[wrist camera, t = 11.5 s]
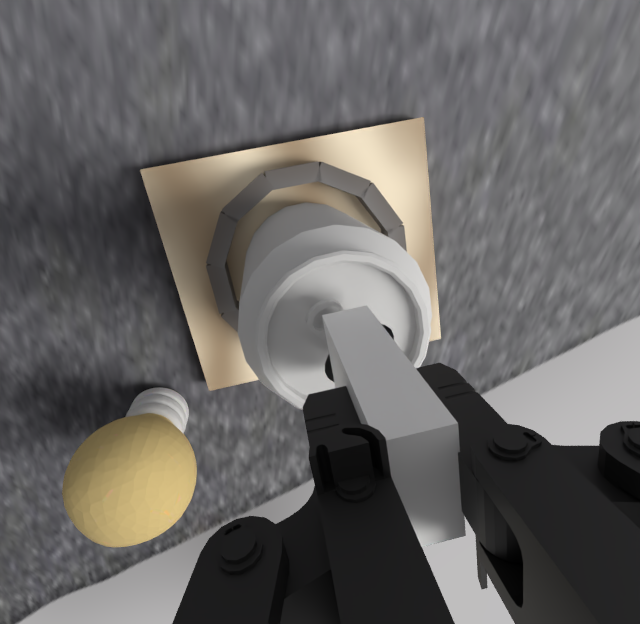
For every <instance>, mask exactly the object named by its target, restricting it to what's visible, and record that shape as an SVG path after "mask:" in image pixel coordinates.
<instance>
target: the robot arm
mask: <svg viewBox="0 0 640 624" xmlns="http://www.w3.org/2000/svg"><path fill="white" fill-rule="evenodd" d="M322 318H323V323H324V329H325V334H326V339H327V345H328V350H329V356H330V361H331V366H332V372H333V377H334V382H335V388H334V389H330V390H325V391H321V392H317V393H312V394H308V396H307V399H306V401H305V403H304V405H303V413H304V418H305V424H306V429H307V434H308V440H309V445H310V449H309V461H310V465H311V470H312V474H313V478H314V483H315V487H314V491H313V494H312V495H311V497H310V498H309V500H308V502H307V503H306V504H305V505H304V506H303V507H302V508H301V509H300V510H299V511H297V512H296V513H294V514H293V515H291V516H290V517H288V518H286V519H285V520H283V521H281V522H279V523H277V524H274V523H273V522H271V521H270V520H268V519H266V518H264V517H256V516H249V517H245V518H239V519H236V520H234V521H232V522H230V523H228V524H226V525H224V526H223V527H221V528H220V529H219V530H218V531H217V532H216V533H215V534H214V535H213V536H212V537H210V538H209V540H208V541H207V543H206V545H205V546H204V548H203V550H202V551H201V553H200V556H199V558H198V561H197V563H196V565H195V568H194V571H193V573H192V576H191V578H190V581H189V583H188V586H187V588H186V591H185V593H184V596H183V598H182V601H181V603H180V606H179V608H178V611H177V613H176V616H175V619H174V621H173V624H455V623H454V621H453V619H452V617H451V614H450V612H449V610H448V607H447V605H446V603H445V600H444V598H443V596H442V593H441V591H440V589H439V587H438V584H437V582H436V580H435V577H434V575H433V573H432V570H431V568H430V565H429V563H428V561H427V559H426V556H425V554H424V552H423V549H422V547H424V546H428V545H432V544H435V543H439V542H443V541H447V540H451V539H454V538H459V537H462V536H465V520H464V516H465V517H466V519H467V521H468V522H469V524H470V526H471V527H472V529H473V531H474V532H475V534H476V550H477V566H478V567H477V568H478V579H479V582H480V585H481V588H482V589H485V588H487V574H488V576H489V578H490V579H491V581H492V583H493V585H494V587H495V588H496V590H497V592H498V594H499V595H500V597H501V599H502V601H503V603H504V604H505V606H506V608H507V610H508V612H509V614H510V615H511V617H512V619H513V621H514V623H515V624H640V422H638V421H627V422H626V421H625V422H618V423H614V424H611V425H608V426H607V427H606V428H604V429H603V430H602V431H601V433H600V444H599V446H559V445H551V444H550V443H549V442H548V441H547V440H546V439H545V438H544V437H542V436H541V435H539V434H538V433H536V432H535V431H533V430H531V429H528V428H525V427H522V426H519V425H512V424H507V423H506V422H505V421H504V420H503V419H502V418H501V416H500V415H499V414H498V413H497V412H496V411H495V410H494V409H493V408H492V407H491V406H490V405H489V404H488V403H487V402H486V401H485V400H484V399H483V398H482V397H481V396H480V395H479V394H478V393H477V392H475V389H474V388H473V387H472V386H471V385H470V384H469V383H467V382H466V380H465V379H464V378H463V377H462V376H461V375H460V374H459V373H458V372H457V371H456V370H454V369H452V368H450V367H448V366H445V365H443V364H441V363H437V364H432V365H428V366H423V367H419V368H415V367H414V366H413V364H412V363H411V362H410V360H409V359H408V358H407V357H406V355H405V354H404V353H403V351H402V350H401V349H400V348H399V346H398V345H397V344H396V342H395V341H394V340H393V339H392V337H391V336H390V335H389V333H388V332H387V331H386V329H385V328H384V327H383V326H382V324H381V323H380V322H379V320H378V319H377V318H376V317H375V315H374V314H373V313H372V311H371V310H370V309H369V308H368V306H367V305H366V306H362V307H357V308H352V309H348V310H343V311H339V312H334V313H329V314H325V315H322Z"/></svg>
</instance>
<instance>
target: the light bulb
mask: <svg viewBox="0 0 640 624" xmlns="http://www.w3.org/2000/svg"><path fill="white" fill-rule="evenodd" d="M188 416H189V409H188V405H187V403H186V401H185V399H184V398H183V397H182V396H181V395H180V394H179V393H177V392H176V391H173V390H171V389H168V388H162V387H157V388H151V389H148V390H145V391H143V392H142V393H140V394H139V395H138V396H137V397H136V398H135V399H134V401H133V403H132V405H131V407H130V409H129V410H128V412H127V414H126V416H125V417H124V418H121V419H117V420H115V421H112V422H111V423H109V424H107V425H105V426H103V427H101V428H99V429H98V430H97V431H95V432H94V433H93V434H92V435H90V436H89V437H88V438H87V439H86V440H85V441H84V442H83V443H82V444H81V445H80V447H79V448H78V449H77V450H76V452H75V454H74V455H73V457H72V459H71V460H70V463H69V465H68V467H67V470H66V472H65V476H64V481H63V491H62V495H63V500H64V506H65V508H66V511H67V513H68V516H69V517H70V519H71V520H72V522H73V523H74V525H75V526H76V528H77V529H78V530H79V531H80V532H81V533H83V534H84V535H85V536H86V537H88V538H89V539H91V540H92V541H93V542H96V543H98V544H101V545H104V546H108V547H126V546H131V545H136V544H139V543H142V542H145V541H148V540H150V539H152V538H154V537H156V536H158V535H160V534H162V533H163V532H165V531H166V530H167V529H169V528H170V527H171V526H172V525H173V524H175V523H176V521H177V520H178V519H179V518H180V517H181V516H182V514H183V513H184V511H185V510H186V508H187V506H188V504H189V502H190V500H191V498H192V495H193V492H194V488H195V484H196V476H197V466H196V460H195V456H194V452H193V449H192V447H191V445H190V443H189V441H188V439H187V438H186V436H185V435H184V430H185V428H186V423H187V420H188Z"/></svg>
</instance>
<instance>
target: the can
mask: <svg viewBox="0 0 640 624" xmlns="http://www.w3.org/2000/svg"><path fill="white" fill-rule="evenodd" d="M366 305H367V306H368V308H369V309H370V310H371V311H372V313H373V314H374V315H375V317H376V318H377V319H378V320H379V322H380V323H381V324H382V326H383V327H384V328H385V329H386V331H387V332H388V333H389V335H390V336H391V337H392V339H393V340H394V341H395V342H396V344H397V345H398V346H399V348H400V349H401V350H402V351H403V353H404V354H405V355H406V357H407V358H408V359H409V360H410V362H411V363H412V364H413V366H414V367H415V368H419V367H420V366H421V364H422V362H423V360H424V358H425V357H426V353H427V348H428V344H429V339H430V335H431V325H430V324H431V319H432V310H431V301H430V291H429V287H428V284H427V282H426V280H425V278H424V276H423V274H422V272H421V270H420V268H419V266H418V264H417V262H416V261H415V260H414V259H413V258H412V257H411V256H410V255H409V254H408V253H407V252H406V251H405V250H404V249H403V248H402V247H401V246H400V245H399V244H398V243H397V242H396V241H395V240H393V239H391V238H389V237H387V236H385V235H384V234H382V233H380V232H378V231H376V230H375V229H373V228H371V227H369V226H367V225H365V224H364V223H362V222H360V221H358V220H356V219H354V218H353V217H351V216H349V215H347V214H345V213H343V212H341V211H339V210H337V209H335V208H333V207H330V206H328V205H326V204H317V203H308V202H305V203H300V204H296V205H291V206H287V207H284V208H283V209H281V210H279V211H278V212H276V213H274V214H273V215H271V216H269V217H268V218H267V219H266V220H265V221H264V222H263V223H262V225H261V226H260V227H259V228H258V229H257V230H256V232H255V233H254V235H253V237H252V240H251V242H250V245H249V247H248V249H247V252H246V259H245V266H244V273H243V280H242V288H241V295H240V302H239V319H238V336H239V340H240V343H241V346H242V350H243V353H244V357H245V360H246V362H247V364H248V365H249V366H250V368H251V369H252V370H253V372H254V373H255V375H256V376H257V377H258V379H259V380H260V381H261V383H262V384H263V385H264V386H266V387H267V388H269V389H270V390H272V391H273V392H274V393H276V394H277V395H279V396H280V397H281V398H283V399H284V400H286V401H288V402H289V403H290V404H292V405H293V406H295V407H296V408H298V409H302V410H303V405H304V403H305V401H306V399H307V396H308V394H312V393H317V392H321V391H325V390H330V389H334V388H335V382H334V377H333V372H332V366H331V361H330V356H329V350H328V345H327V339H326V334H325V329H324V323H323V318H322V315H325V314H329V313H334V312H339V311H343V310H348V309H352V308H357V307H362V306H366Z"/></svg>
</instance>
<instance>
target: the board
mask: <svg viewBox="0 0 640 624" xmlns="http://www.w3.org/2000/svg"><path fill="white" fill-rule="evenodd" d="M140 172H141V175H142V178H143V181H144V185H145V188H146V191H147V194H148V197H149V201H150V204H151V207H152V210H153V213H154V216H155V220H156V223H157V226H158V229H159V232H160V236H161V239H162V242H163V245H164V248H165V251H166V255H167V258H168V261H169V264H170V267H171V271H172V274H173V277H174V280H175V283H176V286H177V290H178V293H179V296H180V299H181V302H182V306H183V309H184V312H185V315H186V318H187V321H188V325H189V328H190V331H191V334H192V337H193V341H194V344H195V347H196V350H197V353H198V356H199V360H200V363H201V366H202V369H203V372H204V376H205V379H206V382H207V385H208V388H209V391H211V390H215V389H220V388H224V387H229V386H233V385H237V384H242V383H246V382H251V381H255V380H259V379H258V377H257V376H256V375H255V373H254V372H253V370H252V369H251V368H250V366H249V365H248V364H247V362H246V360H245V357H244V353H243V350H242V346H241V343H240V340H239V336H238V319H239V302H240V295H241V288H242V280H243V273H244V266H245V259H246V252H247V249H248V247H249V245H250V242H251V240H252V237H253V235H254V233H255V232H256V230H257V229H258V228H259V227H260V226H261V225H262V223H263V222H264V221H265V220H266V219H267V218H268V217H269V216H271V215H273V214H274V213H276V212H278V211H279V210H281V209H283V208H284V207H287V206H291V205H296V204H300V203H305V202H308V203H317V204H326V205H328V206H330V207H333V208H335V209H337V210H339V211H341V212H343V213H345V214H347V215H349V216H351V217H353V218H354V219H356V220H358V221H360V222H362V223H364V224H365V225H367V226H369V227H371V228H373V229H375V230H376V231H378V232H380V233H382V234H384V235H385V236H387V237H389V238H391V239H393V240H395V241H396V242H397V243H398V244H399V245H400V246H401V247H402V248H403V249H404V250H405V251H406V252H407V253H408V254H409V255H410V256H411V257H412V258H413V259H414V260H415V261H416V262H417V264H418V266H419V268H420V270H421V272H422V274H423V276H424V278H425V280H426V282H427V284H428V287H429V291H430V301H431V310H432V319H431V324H430V325H431V335H430V339H429V341H433V340H437V339H441V333H440V320H439V307H438V294H437V281H436V268H435V256H434V243H433V230H432V217H431V204H430V191H429V178H428V165H427V153H426V140H425V127H424V117H422V118H416V119H411V120H405V121H400V122H395V123H389V124H384V125H378V126H373V127H368V128H362V129H357V130H351V131H346V132H341V133H335V134H330V135H324V136H319V137H313V138H308V139H303V140H297V141H292V142H286V143H281V144H276V145H270V146H265V147H259V148H254V149H249V150H243V151H238V152H232V153H227V154H222V155H216V156H211V157H205V158H200V159H195V160H189V161H184V162H178V163H173V164H168V165H162V166H157V167H151V168H146V169H141V170H140Z"/></svg>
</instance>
